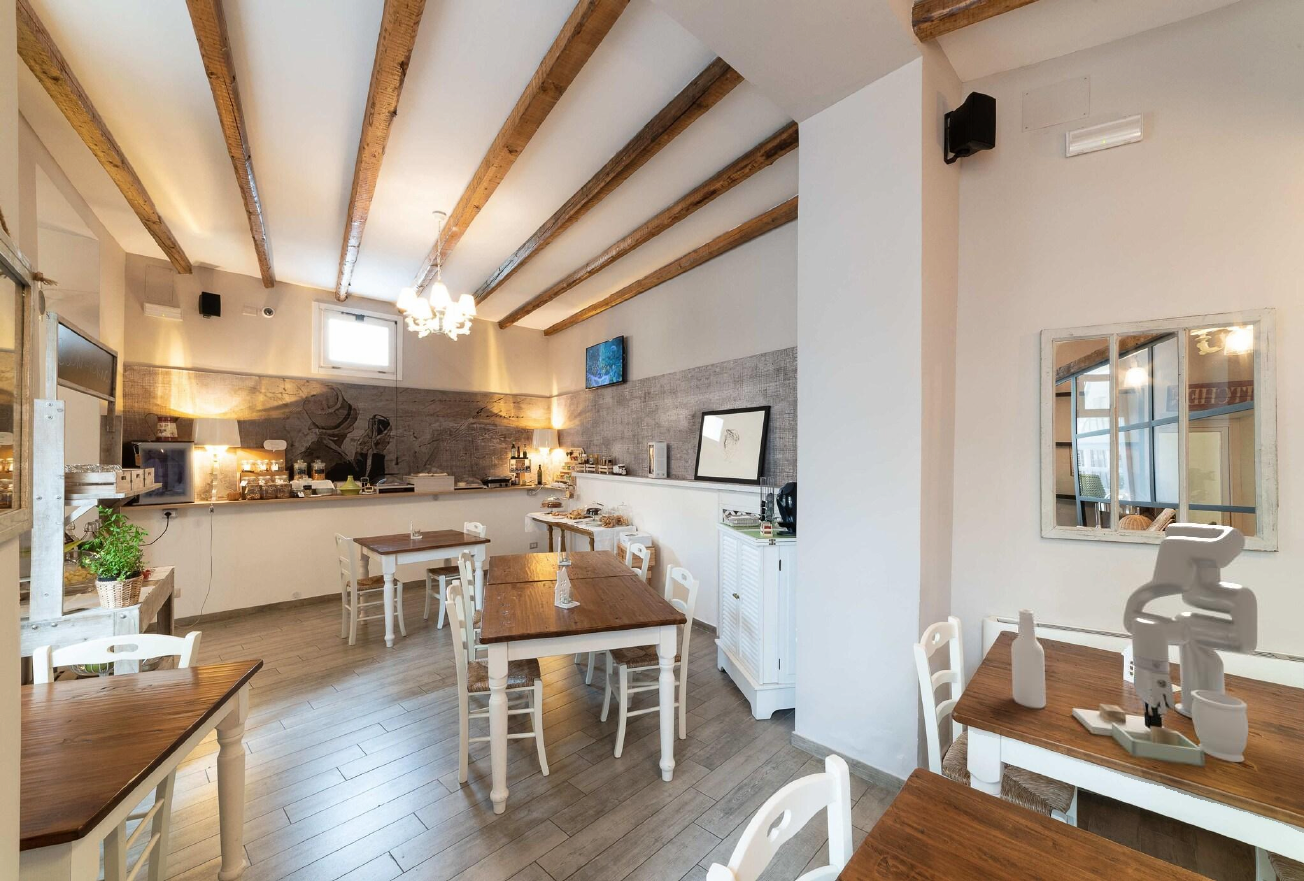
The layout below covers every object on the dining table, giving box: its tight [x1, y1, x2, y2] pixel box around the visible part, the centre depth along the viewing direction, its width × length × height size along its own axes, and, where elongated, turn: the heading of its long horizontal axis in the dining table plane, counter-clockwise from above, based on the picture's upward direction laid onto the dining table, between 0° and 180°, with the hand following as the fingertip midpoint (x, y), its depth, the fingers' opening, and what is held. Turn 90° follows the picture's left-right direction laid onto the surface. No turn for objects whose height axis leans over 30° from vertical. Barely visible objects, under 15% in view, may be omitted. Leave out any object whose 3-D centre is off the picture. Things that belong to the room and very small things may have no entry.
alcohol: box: [1010, 609, 1047, 709], centre depth 169 cm, size 9×9×30 cm
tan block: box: [1098, 703, 1127, 723], centre depth 155 cm, size 4×4×3 cm
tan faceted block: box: [1150, 726, 1178, 746], centre depth 142 cm, size 4×4×3 cm
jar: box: [1191, 690, 1249, 763], centre depth 139 cm, size 11×10×15 cm
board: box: [1072, 707, 1166, 740], centre depth 152 cm, size 20×12×2 cm, turn 72°
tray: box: [1111, 723, 1206, 767], centre depth 140 cm, size 15×10×4 cm
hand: (1153, 728), depth 147 cm, fingers closed
